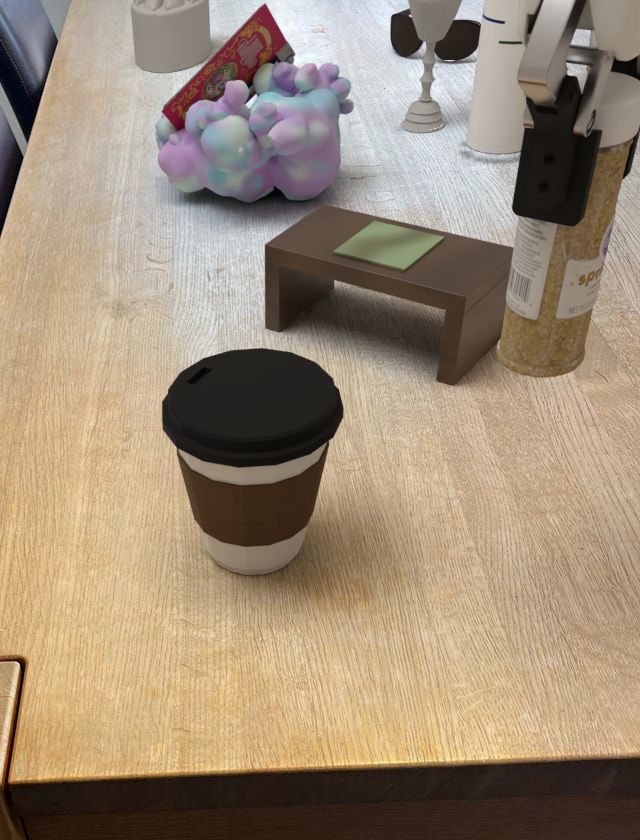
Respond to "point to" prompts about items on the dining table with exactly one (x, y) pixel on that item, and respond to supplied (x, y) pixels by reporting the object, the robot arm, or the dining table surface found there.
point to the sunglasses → (452, 47)
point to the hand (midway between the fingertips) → (571, 191)
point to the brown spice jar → (568, 254)
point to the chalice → (429, 60)
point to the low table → (393, 276)
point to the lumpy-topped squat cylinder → (170, 34)
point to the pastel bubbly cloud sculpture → (255, 120)
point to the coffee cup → (252, 451)
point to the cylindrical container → (497, 82)
